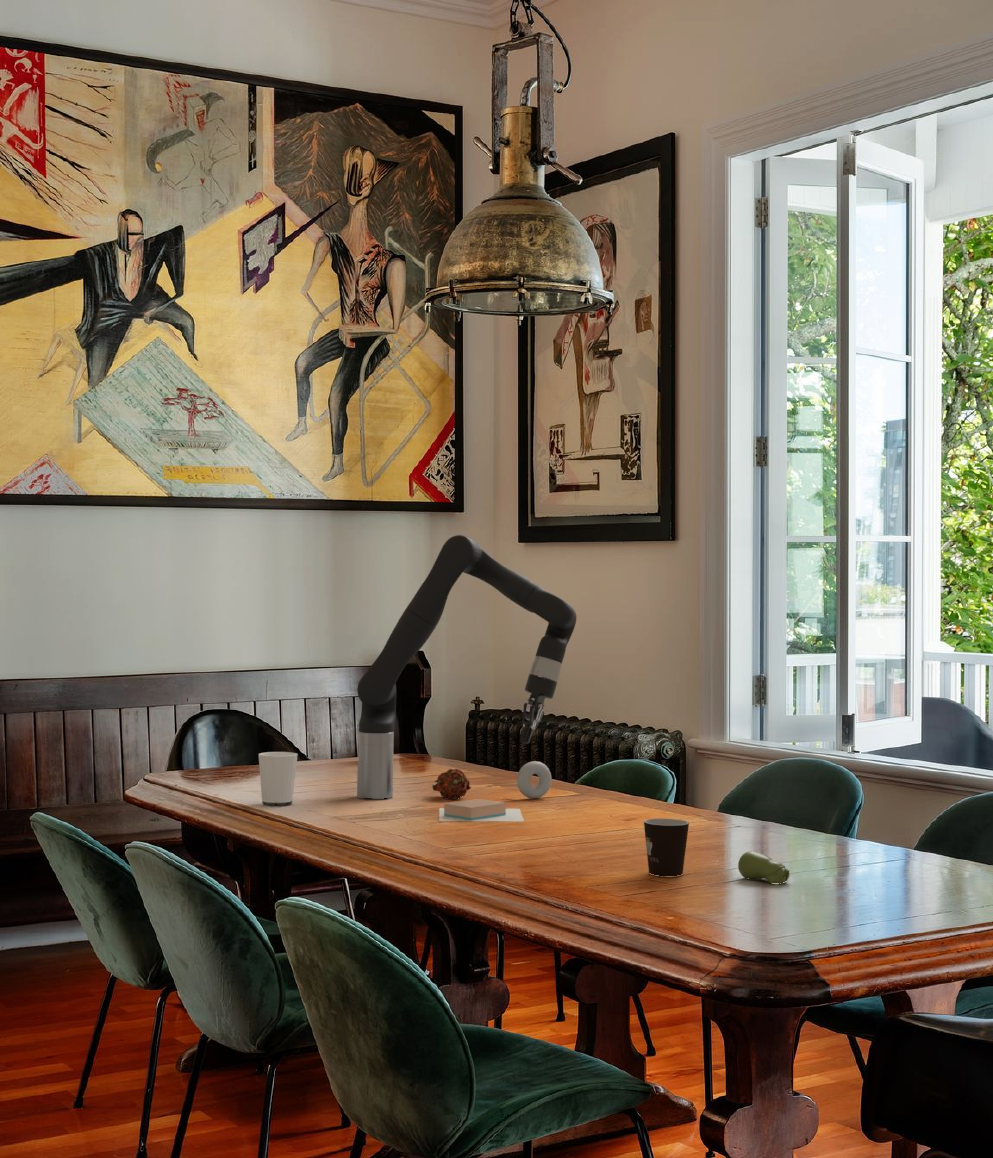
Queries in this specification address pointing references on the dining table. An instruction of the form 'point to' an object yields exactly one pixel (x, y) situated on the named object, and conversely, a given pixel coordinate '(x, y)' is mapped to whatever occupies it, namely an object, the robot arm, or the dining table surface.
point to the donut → (524, 779)
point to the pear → (762, 868)
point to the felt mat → (511, 815)
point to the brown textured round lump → (452, 784)
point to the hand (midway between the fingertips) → (524, 742)
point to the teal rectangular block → (474, 809)
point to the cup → (277, 777)
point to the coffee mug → (666, 845)
